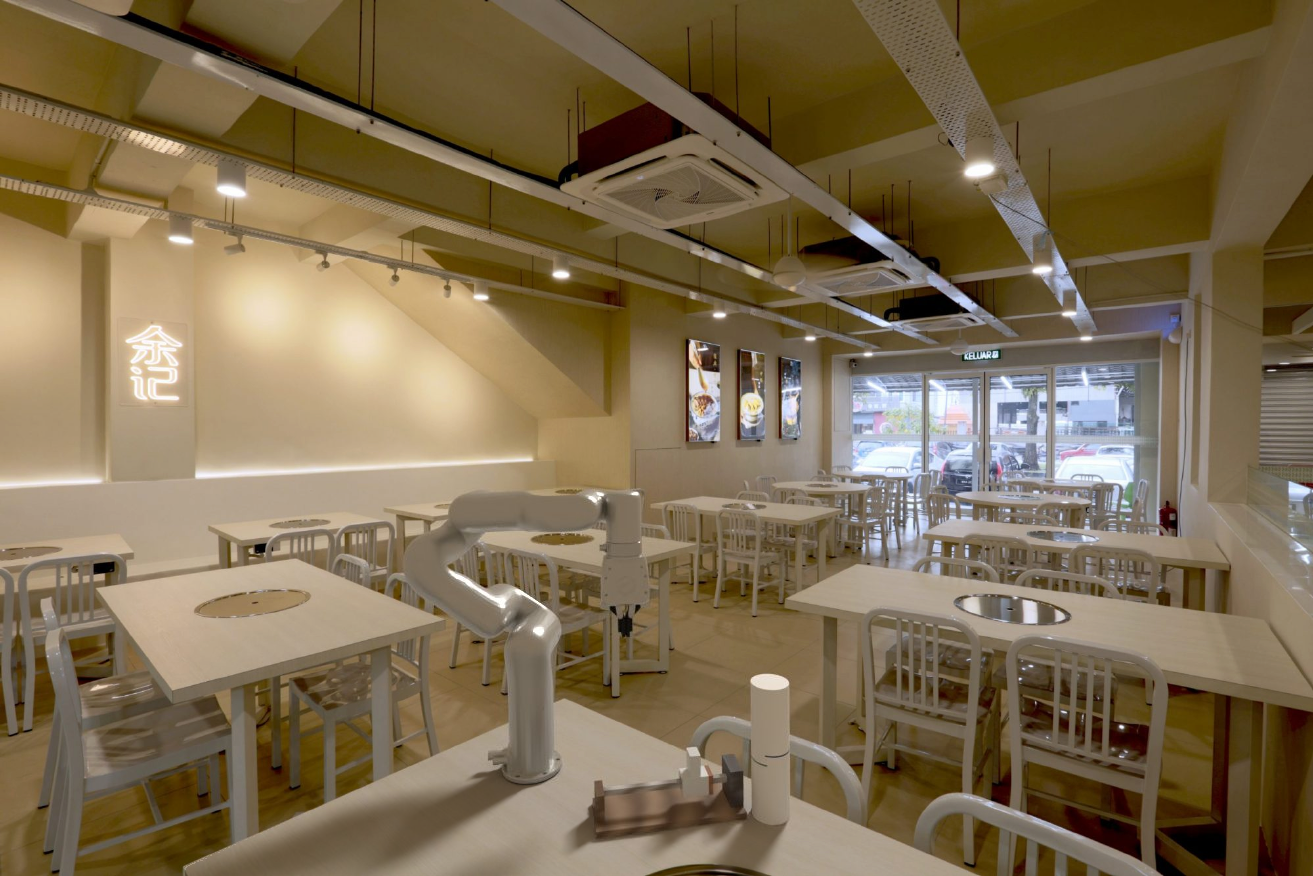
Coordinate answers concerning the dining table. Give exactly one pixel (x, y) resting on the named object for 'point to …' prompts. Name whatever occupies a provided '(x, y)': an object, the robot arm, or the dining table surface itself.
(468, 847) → the dining table surface
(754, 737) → the cylindrical container
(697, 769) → the sleeve
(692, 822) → the rail
